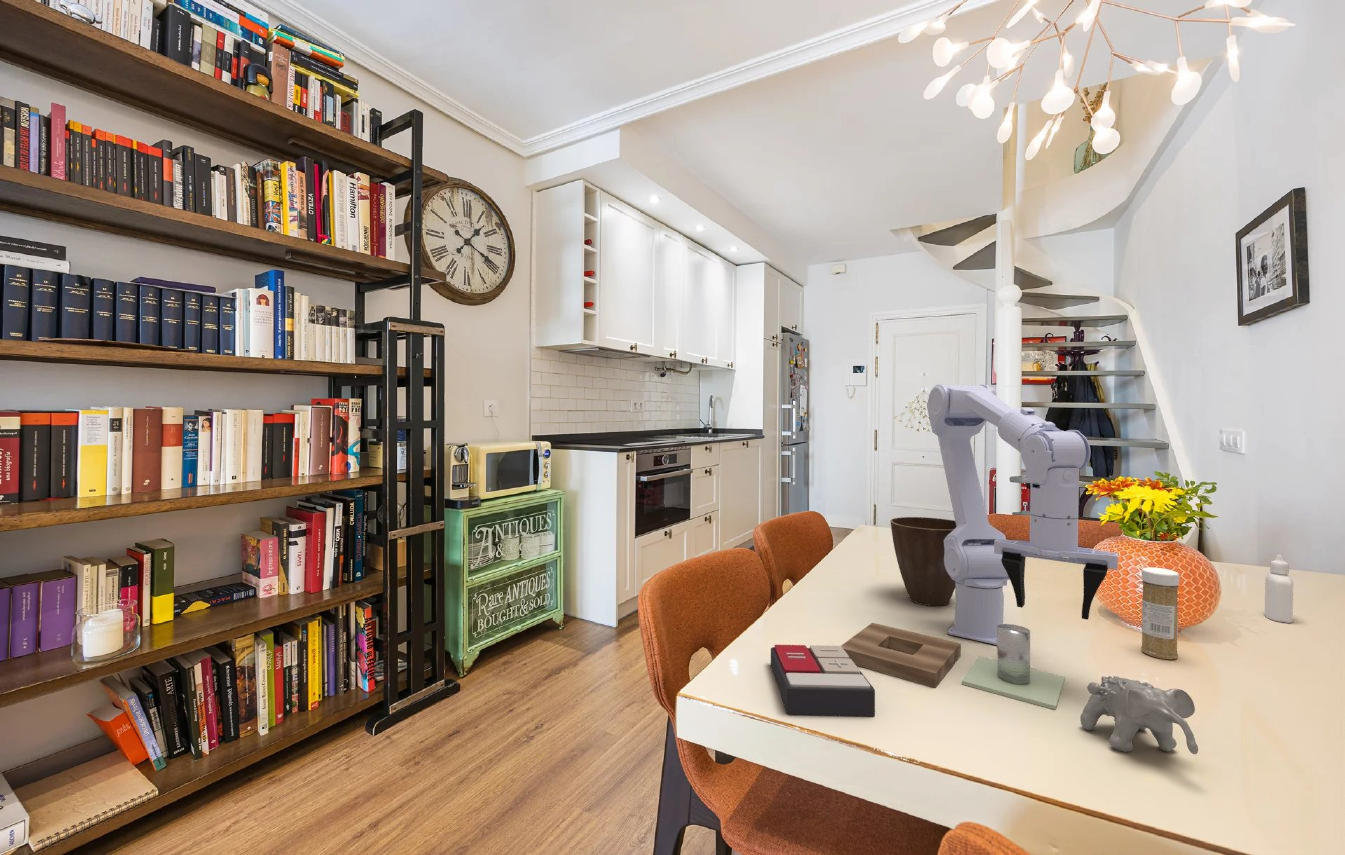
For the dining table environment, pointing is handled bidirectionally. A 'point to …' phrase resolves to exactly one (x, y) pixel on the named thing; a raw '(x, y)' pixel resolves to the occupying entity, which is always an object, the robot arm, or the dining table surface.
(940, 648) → the walnut holder
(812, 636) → the dining table surface
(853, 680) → the calculator
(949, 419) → the robot arm
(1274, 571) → the eye dropper bottle
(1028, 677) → the metal peg
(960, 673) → the dining table surface
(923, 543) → the plant pot
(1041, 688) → the sage pad
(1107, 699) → the elephant statuette
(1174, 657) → the spice jar
